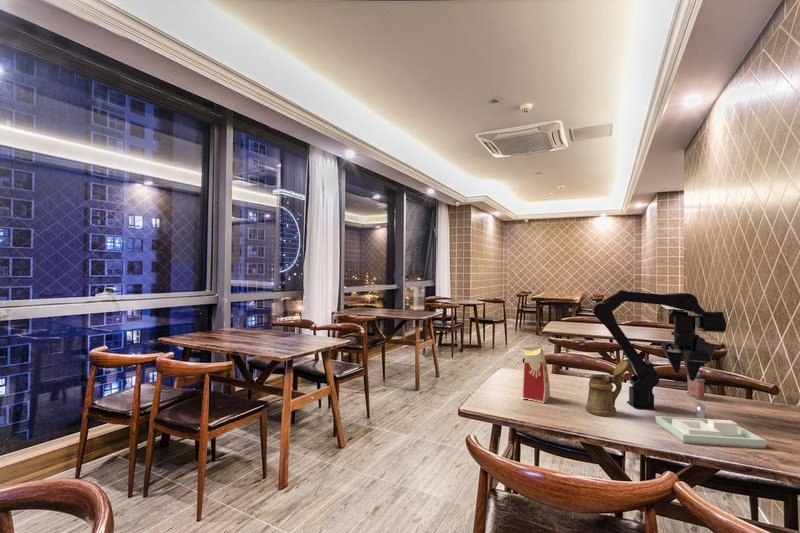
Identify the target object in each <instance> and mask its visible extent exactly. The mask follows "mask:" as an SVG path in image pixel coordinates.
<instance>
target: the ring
mask: <svg viewBox="0 0 800 533" xmlns="http://www.w3.org/2000/svg"><path fill="white" fill-rule="evenodd" d="M707 419H708V424H706V423H705V422H703V421H701V420H684V419H672V426H674V427H675V428H677V429H678V430H680V431H681V432H682V433H684V434H692V435H708V436H721V435H723V436H738V427H737V425H738V423H737V422H734V421H733V420H730V419H729V420H728V419H716V420H715V418H712V419H711V418H707Z"/></svg>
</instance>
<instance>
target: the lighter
mask: <svg viewBox="0 0 800 533" xmlns="http://www.w3.org/2000/svg"><path fill="white" fill-rule="evenodd" d="M686 376H687V377H686V378H687V391H686V394H687V395H688V396H689V397H690V398H692V399H695V400H696V401H699V402H701V401H702V402H704V401H705V400H706V397H705V379H704V378H703V377H702V373H700V370H699V371H698V373H697V376H696V378H695V380H694V381H692V380H690V379H689V376H688V373H686Z"/></svg>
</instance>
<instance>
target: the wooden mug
mask: <svg viewBox="0 0 800 533" xmlns="http://www.w3.org/2000/svg"><path fill="white" fill-rule="evenodd" d="M630 364H631V362H630V360H629V359H628V358H627V359H623V360H621V361H620V362H618V363H617V364H616V366H615V368H614V369H613V374H612V375H609V376H608V377H605V376H600V375H596V376H595V375H592V376H590V379H589V382H588V385H587V386H589V387H588V393H587V394H588V395H587V401H586V404H585V411H586V412H588V413H589V414H592V415H595V416H597V417H604V418H605V417H606V418H609V417H610V418H611V417H612V418H613V417H614V416H616V415H617V408H616V405H615V404H616V400H617V398H618V397H619V394H620V393H621V391H622V387H623V383H622V379H621V378H620V377H622V375H624V374H625V373H626V372H627V371H628V370H629V368H630ZM614 385H615V389H614ZM613 389H614V391H613Z"/></svg>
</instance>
